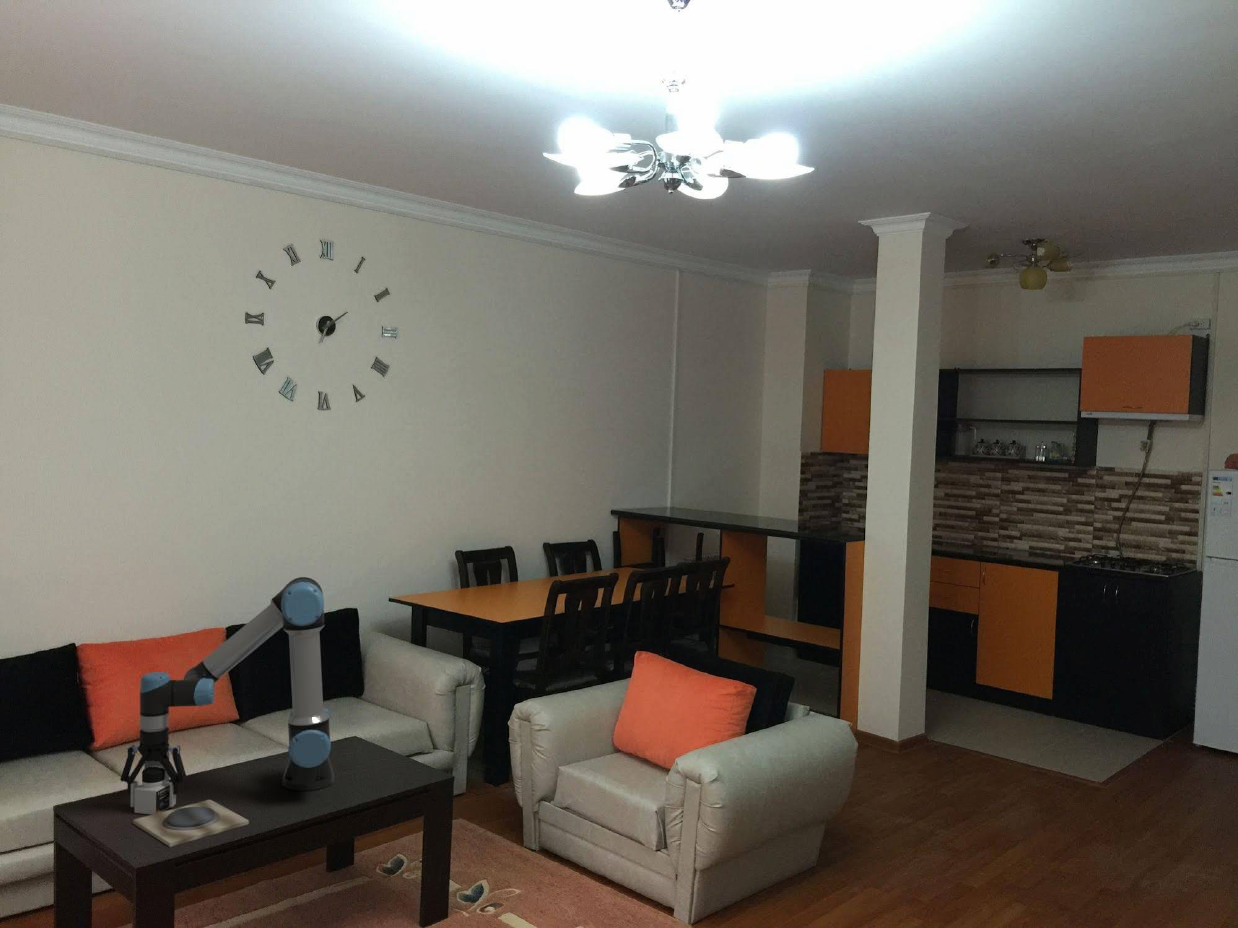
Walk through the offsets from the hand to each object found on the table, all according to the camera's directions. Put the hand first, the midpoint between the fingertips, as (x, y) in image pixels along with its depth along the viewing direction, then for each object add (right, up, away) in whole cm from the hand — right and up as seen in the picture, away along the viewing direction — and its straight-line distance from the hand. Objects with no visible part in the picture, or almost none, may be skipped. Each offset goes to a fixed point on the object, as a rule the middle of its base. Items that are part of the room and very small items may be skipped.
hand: (153, 805), depth 292 cm
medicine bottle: (0, -1, 0) cm, 1 cm away
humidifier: (-5, -1, +13) cm, 14 cm away
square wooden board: (+15, -2, -9) cm, 17 cm away
